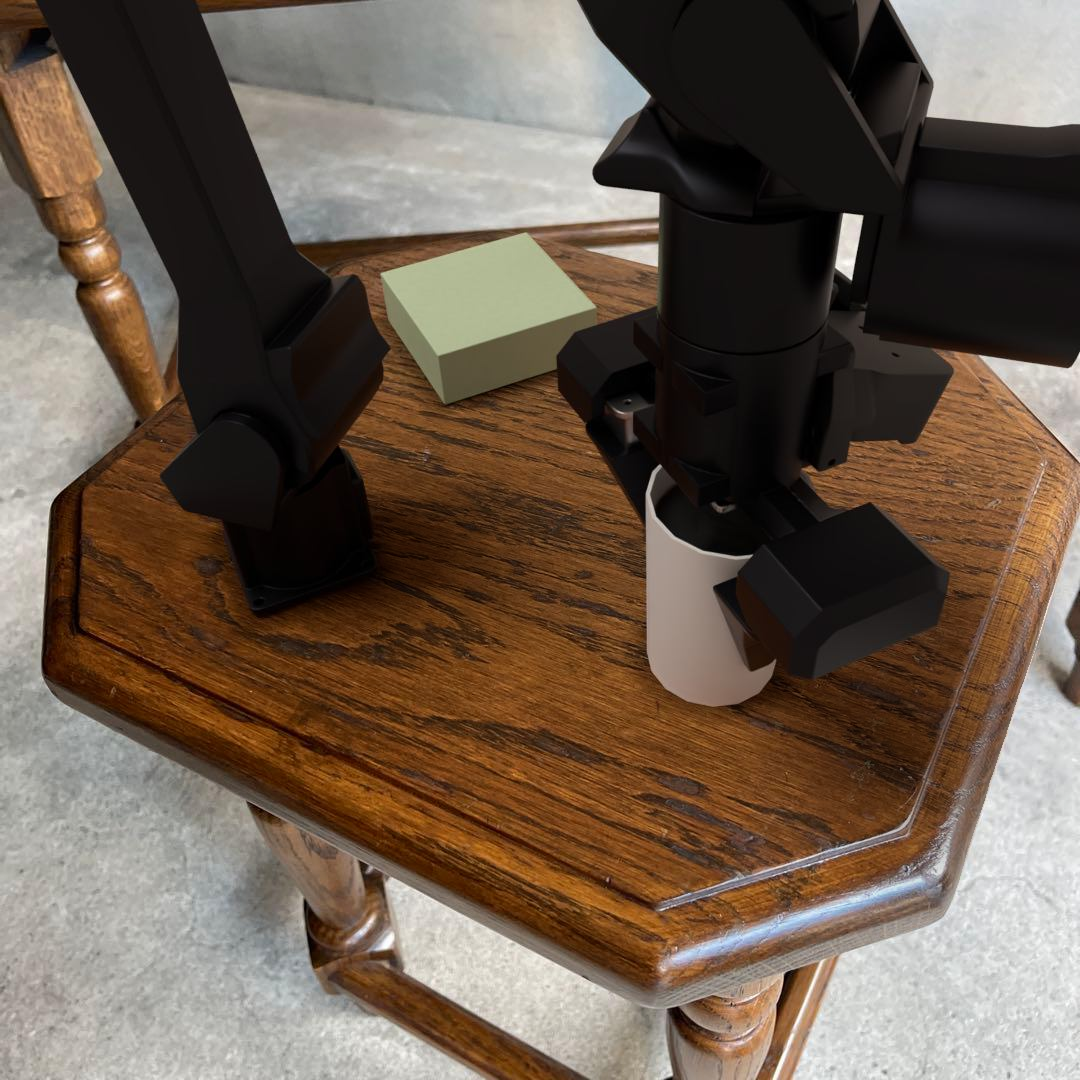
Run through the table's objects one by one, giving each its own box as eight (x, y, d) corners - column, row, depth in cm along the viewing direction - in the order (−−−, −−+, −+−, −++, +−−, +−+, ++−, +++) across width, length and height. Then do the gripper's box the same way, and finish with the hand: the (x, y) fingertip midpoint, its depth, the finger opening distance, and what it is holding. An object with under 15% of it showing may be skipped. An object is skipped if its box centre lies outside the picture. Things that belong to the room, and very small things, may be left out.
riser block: (444, 405, 64) (437, 355, 62) (388, 320, 71) (379, 272, 68) (598, 356, 67) (597, 306, 64) (529, 279, 73) (526, 231, 71)
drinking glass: (791, 718, 47) (828, 562, 40) (636, 711, 48) (645, 556, 41) (779, 600, 52) (810, 441, 45) (637, 595, 53) (646, 437, 45)
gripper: (1140, 381, 33) (1012, 696, 44) (786, 141, 45) (755, 434, 56) (830, 502, 30) (776, 807, 41) (541, 210, 42) (559, 506, 53)
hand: (716, 611), depth 48 cm, fingers closed on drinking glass, 6 cm apart
